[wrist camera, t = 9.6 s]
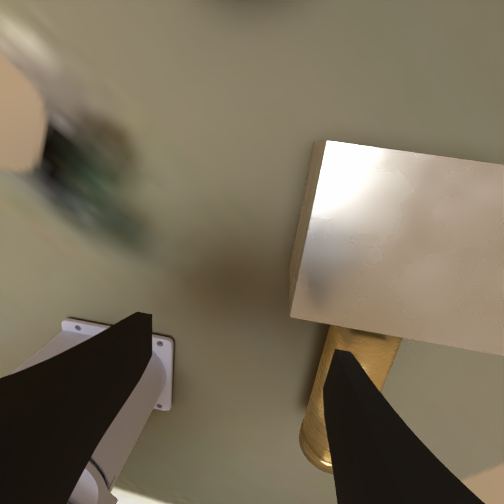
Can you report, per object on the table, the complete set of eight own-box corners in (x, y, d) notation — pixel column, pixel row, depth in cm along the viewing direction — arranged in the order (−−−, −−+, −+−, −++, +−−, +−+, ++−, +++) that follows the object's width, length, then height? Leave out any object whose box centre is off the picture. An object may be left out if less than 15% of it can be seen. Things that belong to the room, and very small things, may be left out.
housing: (289, 264, 20) (289, 317, 14) (313, 141, 17) (327, 140, 11) (438, 289, 19) (506, 356, 13) (491, 165, 16) (610, 179, 10)
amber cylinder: (298, 413, 23) (299, 466, 19) (329, 297, 19) (338, 335, 15) (348, 424, 23) (360, 480, 19) (391, 308, 19) (416, 350, 15)
